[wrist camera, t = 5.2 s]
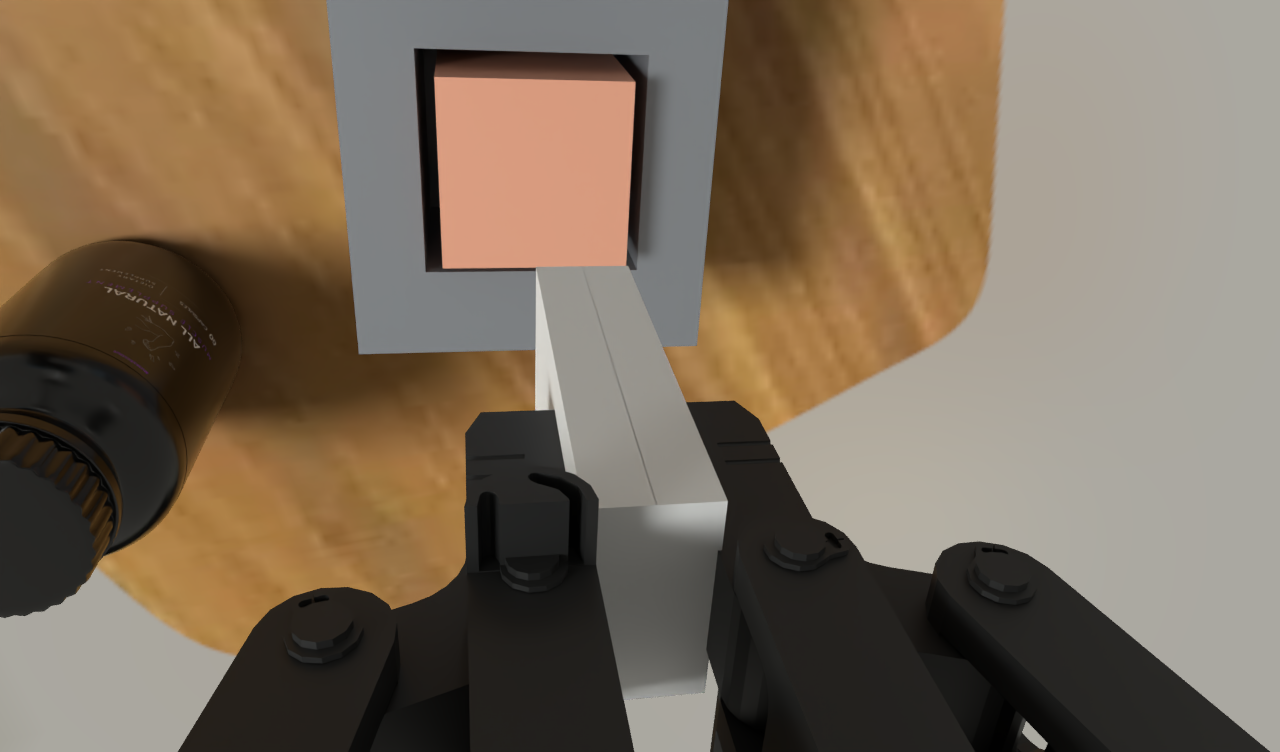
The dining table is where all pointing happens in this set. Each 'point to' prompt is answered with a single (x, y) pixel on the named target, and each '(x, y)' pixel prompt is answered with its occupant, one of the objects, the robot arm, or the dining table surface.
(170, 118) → the dining table surface
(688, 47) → the console
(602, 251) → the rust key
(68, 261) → the supplement bottle
